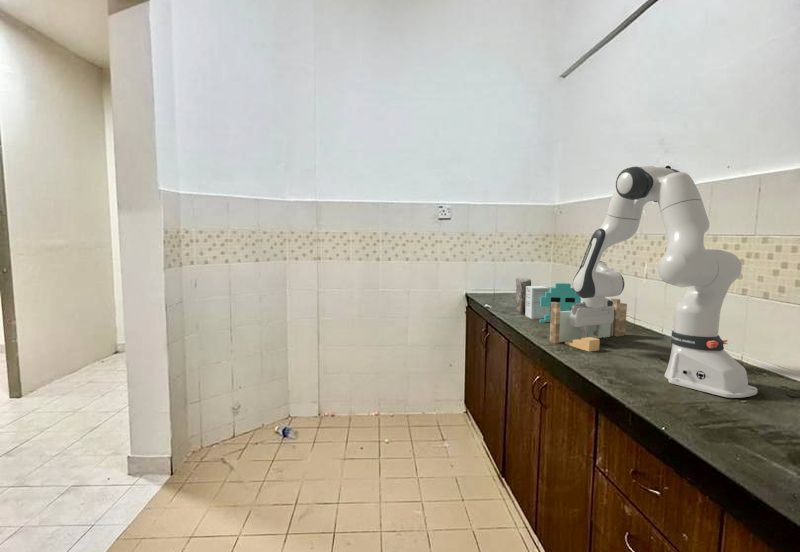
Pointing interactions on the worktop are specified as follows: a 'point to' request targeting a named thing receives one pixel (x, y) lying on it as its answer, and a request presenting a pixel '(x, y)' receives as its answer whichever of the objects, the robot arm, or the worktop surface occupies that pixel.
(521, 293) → the stone block
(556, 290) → the alien figure
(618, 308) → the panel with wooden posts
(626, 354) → the worktop surface
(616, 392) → the worktop surface
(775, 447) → the worktop surface
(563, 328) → the door leaf
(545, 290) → the supplement box
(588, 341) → the tan long block
